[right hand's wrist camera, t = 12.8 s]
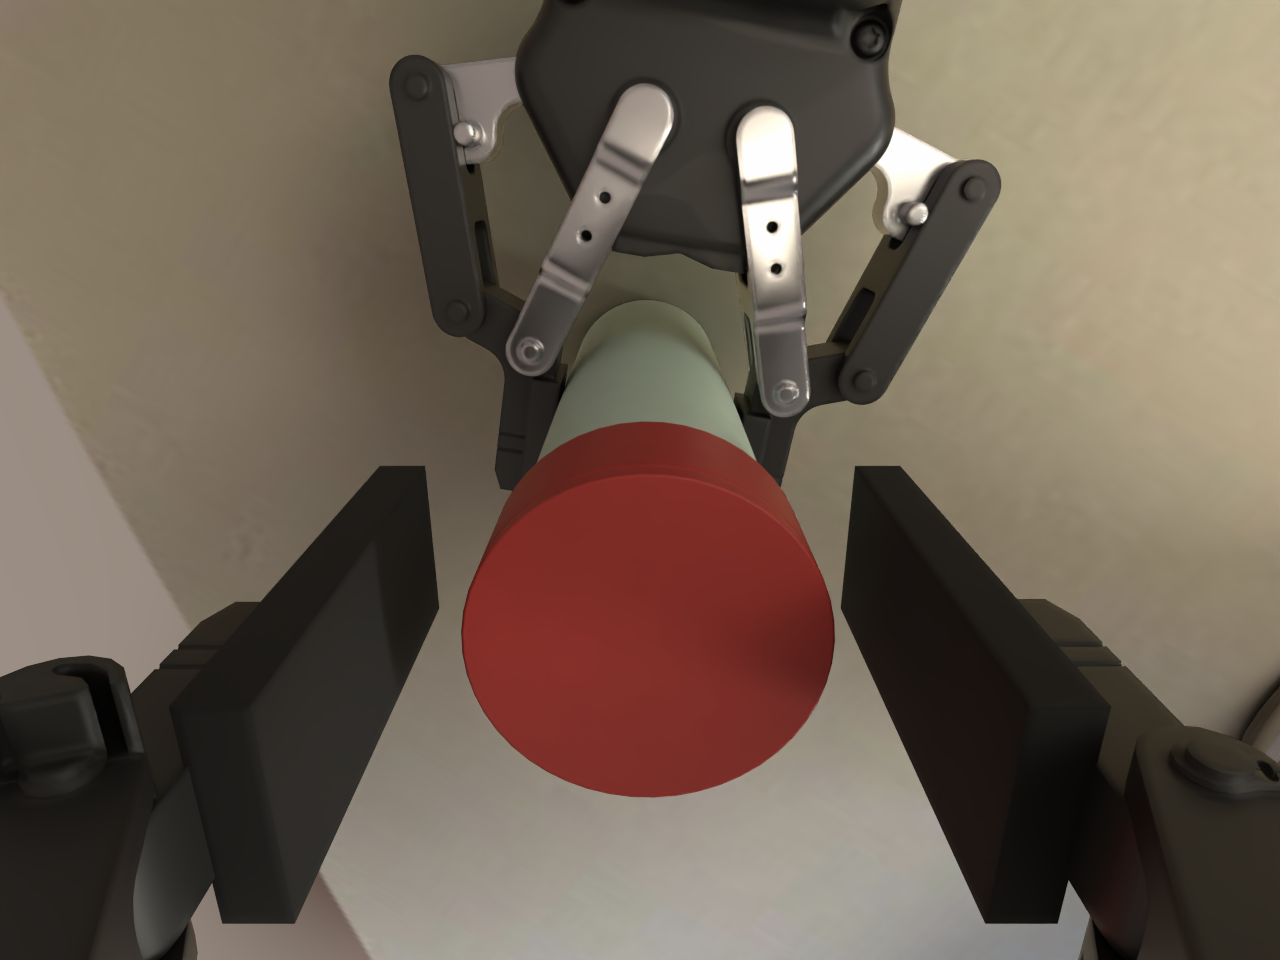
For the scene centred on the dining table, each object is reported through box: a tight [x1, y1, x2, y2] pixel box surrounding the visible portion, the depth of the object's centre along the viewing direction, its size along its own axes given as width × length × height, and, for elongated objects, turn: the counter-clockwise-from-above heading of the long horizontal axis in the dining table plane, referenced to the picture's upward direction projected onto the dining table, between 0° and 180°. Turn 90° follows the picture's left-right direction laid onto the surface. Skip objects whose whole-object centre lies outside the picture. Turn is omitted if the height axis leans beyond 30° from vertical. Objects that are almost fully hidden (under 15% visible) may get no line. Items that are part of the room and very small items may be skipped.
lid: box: [461, 421, 835, 797], centre depth 12 cm, size 5×5×2 cm
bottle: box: [537, 300, 756, 462], centre depth 19 cm, size 5×5×17 cm
